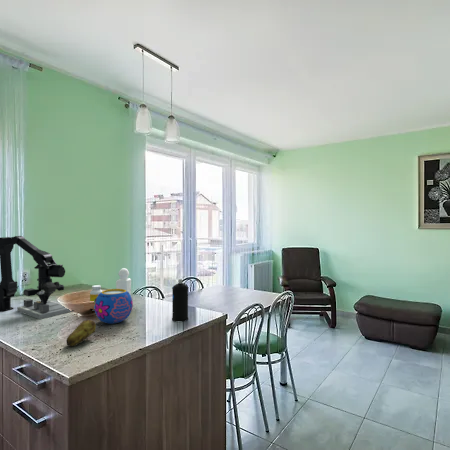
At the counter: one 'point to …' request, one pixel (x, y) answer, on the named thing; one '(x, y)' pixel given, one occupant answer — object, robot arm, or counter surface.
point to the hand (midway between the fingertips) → (44, 305)
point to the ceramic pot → (113, 305)
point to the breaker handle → (37, 304)
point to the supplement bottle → (95, 292)
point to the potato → (81, 332)
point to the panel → (47, 314)
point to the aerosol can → (180, 301)
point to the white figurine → (124, 280)
